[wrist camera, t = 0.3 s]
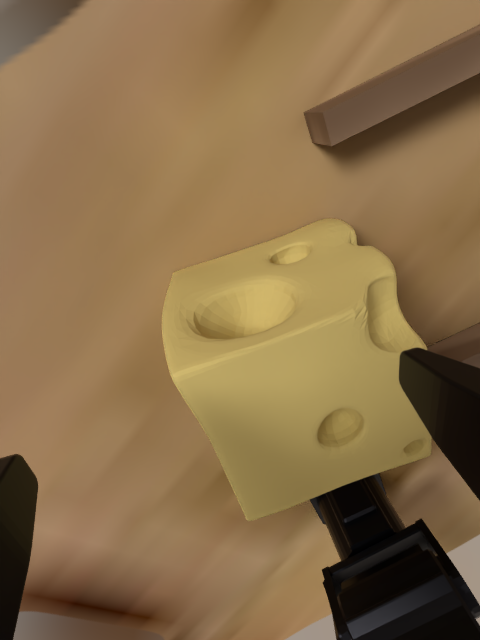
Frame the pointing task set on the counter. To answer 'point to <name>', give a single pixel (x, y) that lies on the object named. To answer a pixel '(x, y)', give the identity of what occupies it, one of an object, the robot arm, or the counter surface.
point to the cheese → (295, 364)
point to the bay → (392, 98)
